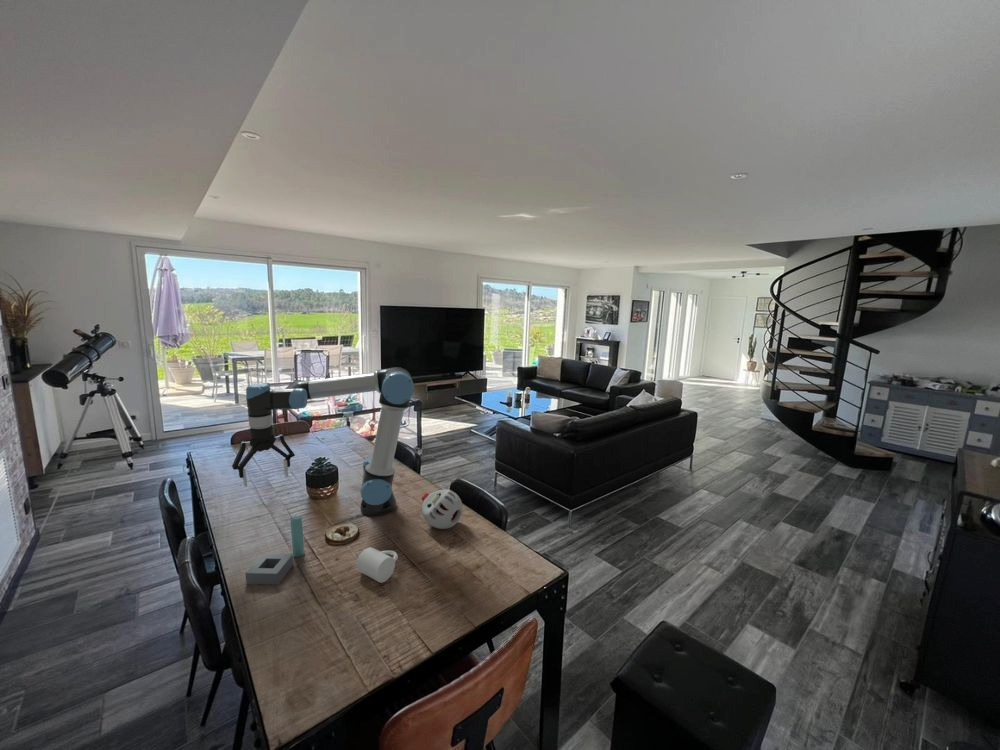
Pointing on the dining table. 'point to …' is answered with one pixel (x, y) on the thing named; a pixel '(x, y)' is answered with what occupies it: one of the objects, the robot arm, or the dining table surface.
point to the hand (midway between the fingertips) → (266, 480)
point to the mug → (376, 564)
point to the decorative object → (442, 508)
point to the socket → (269, 569)
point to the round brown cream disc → (341, 533)
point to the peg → (297, 536)
